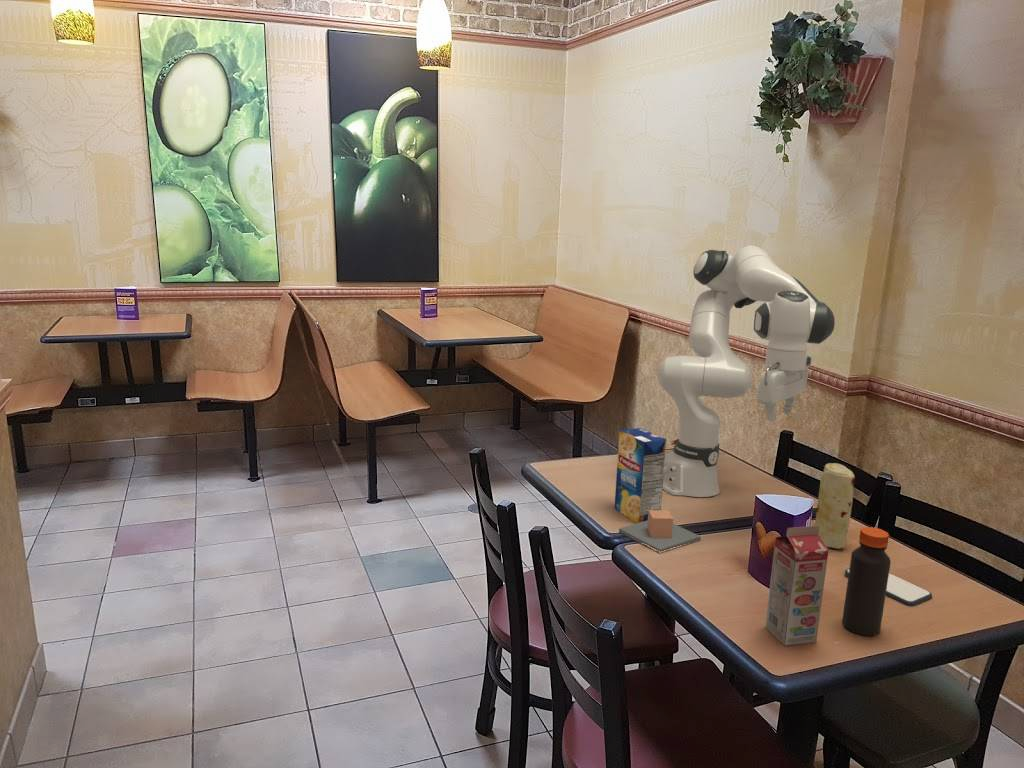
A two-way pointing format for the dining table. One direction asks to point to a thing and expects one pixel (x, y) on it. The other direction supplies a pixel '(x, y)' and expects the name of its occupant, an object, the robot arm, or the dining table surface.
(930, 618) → the dining table surface
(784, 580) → the juice carton
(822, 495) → the food model
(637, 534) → the coaster
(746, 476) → the dining table surface
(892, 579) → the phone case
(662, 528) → the cube
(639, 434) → the blue tall cardboard box
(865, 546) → the bottle
